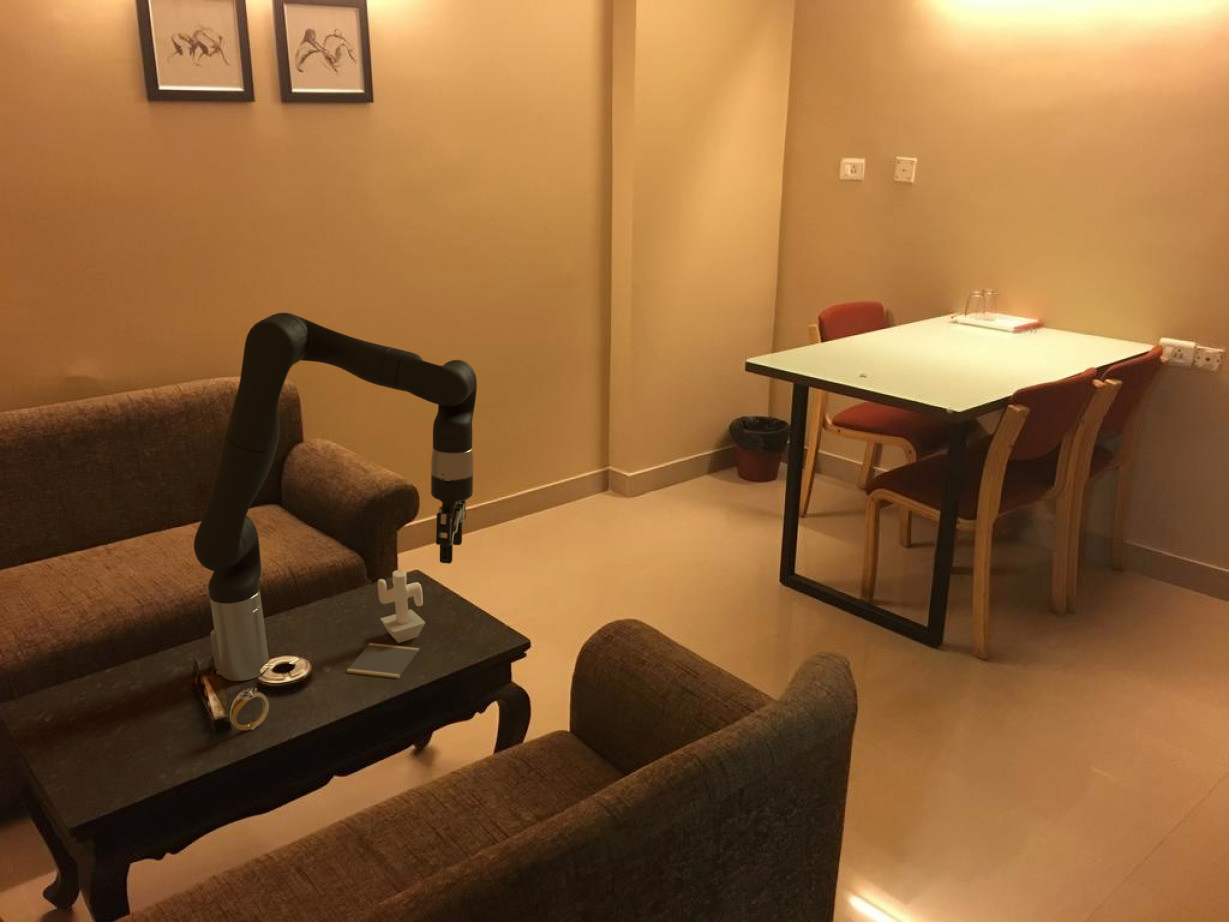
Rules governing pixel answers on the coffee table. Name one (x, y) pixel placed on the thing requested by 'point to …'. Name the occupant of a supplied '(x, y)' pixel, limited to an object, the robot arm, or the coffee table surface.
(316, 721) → the coffee table surface
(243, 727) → the ring
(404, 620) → the figurine
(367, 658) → the felt mat
